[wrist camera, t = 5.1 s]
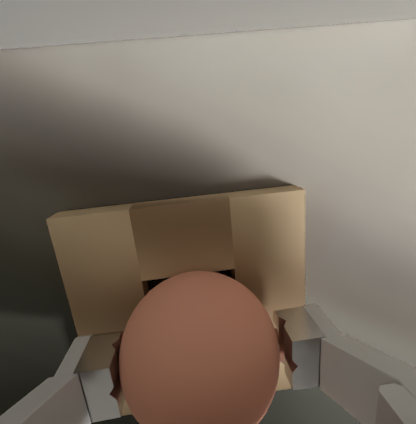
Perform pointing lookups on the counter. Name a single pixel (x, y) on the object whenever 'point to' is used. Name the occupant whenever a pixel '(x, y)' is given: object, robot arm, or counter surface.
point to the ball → (199, 353)
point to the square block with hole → (180, 252)
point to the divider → (176, 18)
